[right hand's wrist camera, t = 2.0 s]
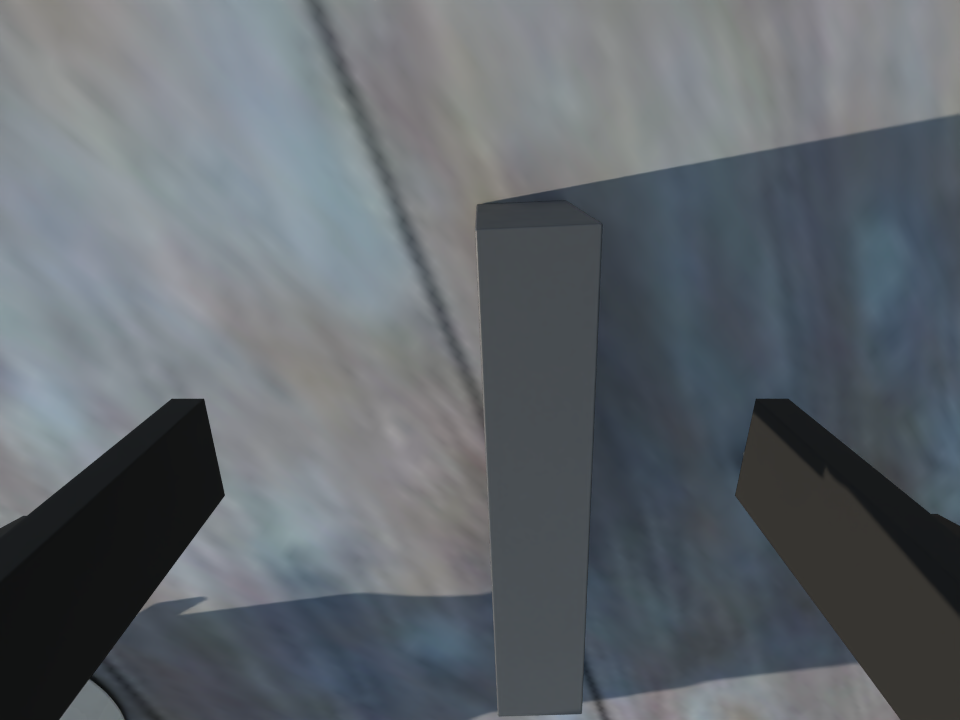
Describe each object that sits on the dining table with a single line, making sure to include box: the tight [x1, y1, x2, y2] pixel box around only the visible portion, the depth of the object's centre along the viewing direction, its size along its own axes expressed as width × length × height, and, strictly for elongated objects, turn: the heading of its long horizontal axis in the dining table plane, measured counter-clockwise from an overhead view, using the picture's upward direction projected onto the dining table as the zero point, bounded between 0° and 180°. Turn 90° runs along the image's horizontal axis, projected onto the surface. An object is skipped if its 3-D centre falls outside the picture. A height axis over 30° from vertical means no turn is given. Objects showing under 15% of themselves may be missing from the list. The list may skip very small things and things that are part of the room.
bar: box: [475, 200, 602, 716], centre depth 27 cm, size 25×4×8 cm, turn 2°
